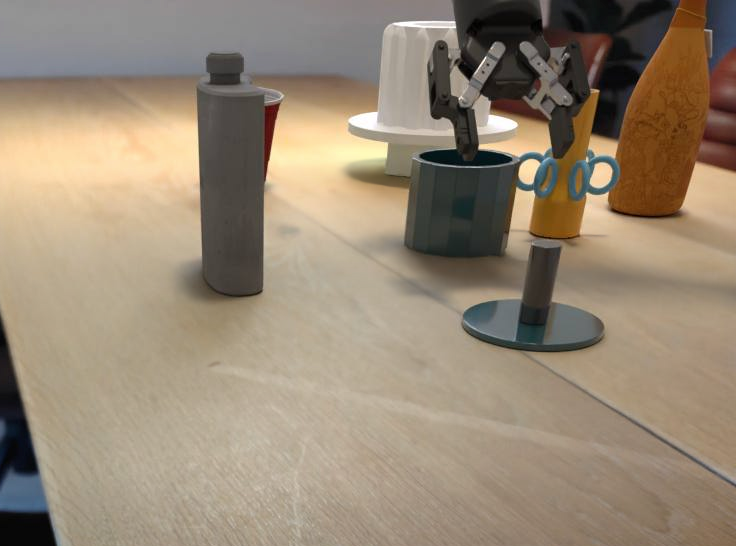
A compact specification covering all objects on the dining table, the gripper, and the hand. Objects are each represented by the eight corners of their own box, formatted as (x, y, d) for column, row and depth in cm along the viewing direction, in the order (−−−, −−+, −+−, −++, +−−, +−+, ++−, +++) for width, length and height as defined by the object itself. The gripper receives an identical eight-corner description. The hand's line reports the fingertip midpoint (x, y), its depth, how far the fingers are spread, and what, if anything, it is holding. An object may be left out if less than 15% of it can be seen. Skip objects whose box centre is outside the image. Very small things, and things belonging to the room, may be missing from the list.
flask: (198, 256, 102) (190, 45, 90) (249, 255, 103) (248, 44, 90) (208, 297, 90) (201, 60, 78) (266, 295, 91) (268, 60, 79)
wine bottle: (682, 221, 115) (762, -80, 97) (601, 214, 118) (665, -80, 100) (682, 204, 123) (757, -78, 104) (606, 198, 125) (667, -78, 107)
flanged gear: (478, 196, 126) (500, 33, 115) (318, 178, 136) (324, 26, 125) (530, 166, 144) (554, 22, 132) (384, 152, 153) (395, 16, 142)
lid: (615, 325, 84) (636, 236, 79) (582, 368, 75) (603, 272, 71) (486, 304, 89) (499, 219, 84) (441, 342, 80) (452, 250, 76)
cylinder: (544, 217, 117) (569, 81, 108) (618, 232, 111) (651, 90, 102) (488, 233, 110) (509, 90, 101) (563, 250, 104) (592, 99, 95)
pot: (518, 243, 107) (533, 153, 101) (486, 268, 99) (500, 171, 93) (425, 231, 111) (434, 144, 105) (387, 253, 103) (395, 160, 97)
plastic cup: (225, 197, 126) (223, 97, 119) (197, 182, 134) (193, 88, 126) (295, 190, 129) (297, 93, 122) (264, 176, 137) (264, 84, 130)
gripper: (431, -43, 79) (454, 127, 77) (586, -43, 81) (612, 124, 79) (408, 26, 87) (429, 183, 85) (550, 24, 88) (574, 178, 86)
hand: (517, 154), depth 82 cm, fingers open, 8 cm apart
